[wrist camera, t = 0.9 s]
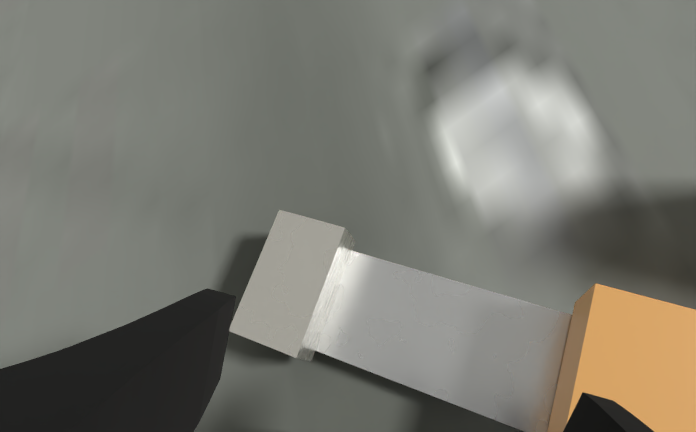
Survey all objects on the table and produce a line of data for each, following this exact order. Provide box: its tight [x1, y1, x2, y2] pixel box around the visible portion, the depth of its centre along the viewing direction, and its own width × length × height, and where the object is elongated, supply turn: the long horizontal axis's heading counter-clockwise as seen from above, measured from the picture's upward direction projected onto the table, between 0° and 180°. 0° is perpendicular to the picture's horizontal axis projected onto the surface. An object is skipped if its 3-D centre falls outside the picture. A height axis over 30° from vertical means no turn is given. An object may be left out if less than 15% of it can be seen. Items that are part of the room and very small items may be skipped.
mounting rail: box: [229, 210, 572, 432], centre depth 18 cm, size 6×29×4 cm, turn 70°
